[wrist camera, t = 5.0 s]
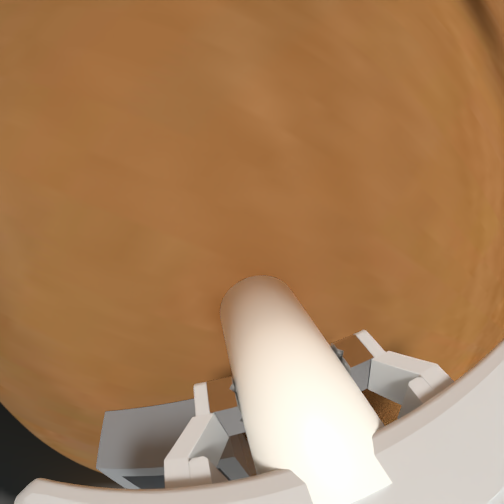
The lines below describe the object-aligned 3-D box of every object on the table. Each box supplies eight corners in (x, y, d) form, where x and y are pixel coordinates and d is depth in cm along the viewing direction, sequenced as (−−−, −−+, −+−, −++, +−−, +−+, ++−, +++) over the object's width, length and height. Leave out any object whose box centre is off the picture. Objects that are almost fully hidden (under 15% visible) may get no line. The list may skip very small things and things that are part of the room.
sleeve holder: (222, 392, 16) (234, 456, 11) (251, 448, 19) (264, 494, 15) (105, 411, 15) (95, 467, 10) (158, 463, 18) (159, 507, 14)
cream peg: (288, 265, 14) (435, 453, 4) (298, 327, 15) (399, 494, 5) (210, 288, 13) (262, 529, 3) (230, 348, 15) (284, 540, 5)
